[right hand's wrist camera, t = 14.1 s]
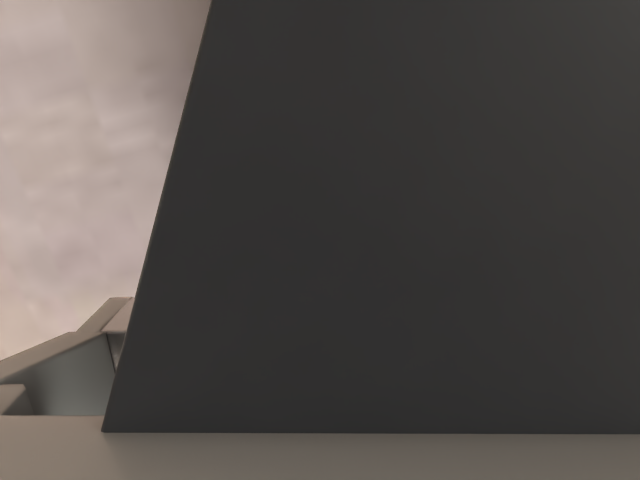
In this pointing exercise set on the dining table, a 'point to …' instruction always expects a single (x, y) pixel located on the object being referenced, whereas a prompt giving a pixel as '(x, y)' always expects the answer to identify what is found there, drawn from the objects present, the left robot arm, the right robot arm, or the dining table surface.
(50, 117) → the dining table surface
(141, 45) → the dining table surface
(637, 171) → the box
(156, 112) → the dining table surface
